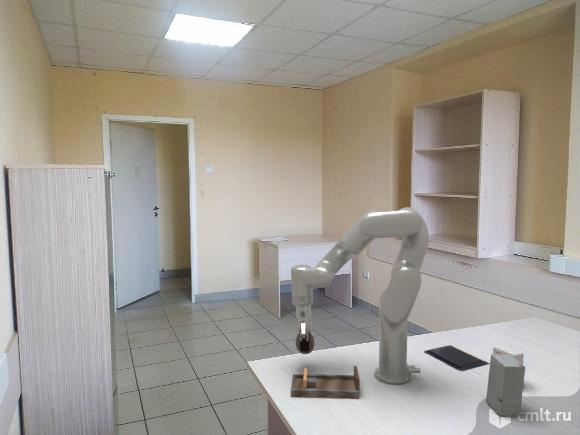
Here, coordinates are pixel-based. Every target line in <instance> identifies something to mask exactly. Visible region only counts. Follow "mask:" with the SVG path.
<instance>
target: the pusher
mask: <svg viewBox="0 0 580 435" xmlns="http://www.w3.org/2000/svg"><path fill="white" fill-rule="evenodd" d="M303 374H304V377H303V389H307V386H309V387H316V378H307V374H308V368H307V367H304V368H303Z"/></svg>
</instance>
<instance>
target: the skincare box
mask: <svg viewBox="0 0 580 435" xmlns="http://www.w3.org/2000/svg"><path fill="white" fill-rule="evenodd" d="M489 363H490V364H489V370H488V371H489V372H488V377H487V378H488V379H487V388H486V397H485V402H486V404H487V405H488V406H490V408H491V409H492V410H493V411H494V412H496V414H498V415H499V416H500V417H505V416H506V417H508V416H509V417H510V416H511V417H515V416H516V417H517V416H521V408H522V397H523V391H524V382H525V374H526V373H525V372H526V366H525V365H524V364H523V365H522V364H521V363H520V362H519V361H518V360H517V359H515V358H514V357H512V356H511V355H510V354H493V353H492V354H491V355H490V360H489Z"/></svg>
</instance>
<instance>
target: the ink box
mask: <svg viewBox="0 0 580 435" xmlns="http://www.w3.org/2000/svg"><path fill="white" fill-rule="evenodd" d="M492 354H510V355H511V356H512V357H514V358H515V359H517V360H518V361H519V362H520V363H521V364H522V365H524V352H522V351H518V350H516V349H514V348H511V347H508V346H506V345H503V344H502V345H501V344H500V345H495V346H493V347H492Z"/></svg>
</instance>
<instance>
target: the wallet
mask: <svg viewBox="0 0 580 435" xmlns="http://www.w3.org/2000/svg"><path fill="white" fill-rule="evenodd" d="M423 353H425V354H427V355H429V356H431V357H432V358H434V359H436V360H438V361H440V362H442V363H444V364H445V365H447V366H450V367H451V368H454V370H457V371H460V372H465V371H470V370H473V369H477V368H480V367H484V366H486V365H487V366H488V365H490V362H488V361H485V360H483V359H482V358H479V357H477V356H475V355H473V354H471V353H468V352H467V351H465V350H462V349H460V348H458V347H456V346H453V345H450V344H448V345H444V346H439V347H436V348H431V349H427V350H424V351H423Z"/></svg>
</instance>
